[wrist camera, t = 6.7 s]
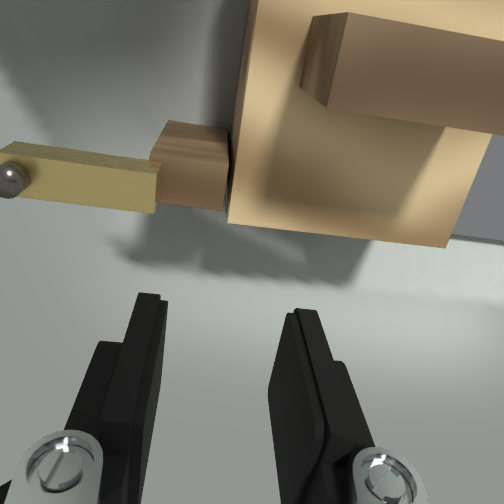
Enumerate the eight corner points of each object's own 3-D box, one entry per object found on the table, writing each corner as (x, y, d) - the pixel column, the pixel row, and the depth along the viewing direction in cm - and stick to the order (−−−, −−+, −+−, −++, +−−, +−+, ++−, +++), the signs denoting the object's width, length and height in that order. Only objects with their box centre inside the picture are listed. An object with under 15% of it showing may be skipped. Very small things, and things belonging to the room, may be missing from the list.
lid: (285, -213, 16) (329, -374, 10) (581, -138, 18) (788, -232, 12) (227, 212, 25) (229, 280, 18) (434, 237, 26) (505, 307, 20)
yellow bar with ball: (15, 141, 20) (-16, 158, 18) (162, 162, 21) (153, 181, 19) (18, 180, 21) (-10, 202, 19) (159, 198, 22) (151, 222, 20)
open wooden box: (189, -167, 22) (172, -265, 15) (490, -92, 24) (609, -145, 17) (165, 167, 30) (146, 213, 23) (392, 199, 33) (443, 250, 25)
